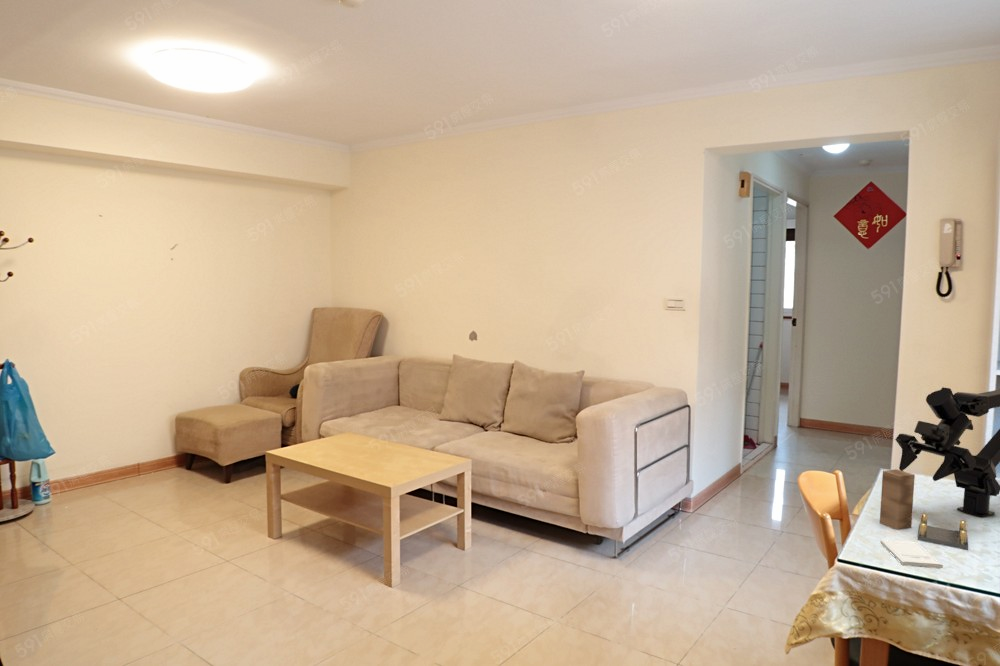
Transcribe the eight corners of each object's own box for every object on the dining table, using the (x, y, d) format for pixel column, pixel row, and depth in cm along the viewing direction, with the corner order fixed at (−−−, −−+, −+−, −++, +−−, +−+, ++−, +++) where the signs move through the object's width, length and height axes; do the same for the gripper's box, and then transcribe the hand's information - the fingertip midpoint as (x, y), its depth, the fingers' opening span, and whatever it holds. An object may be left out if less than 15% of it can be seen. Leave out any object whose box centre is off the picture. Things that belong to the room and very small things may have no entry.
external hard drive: (917, 548, 153) (942, 571, 141) (880, 545, 155) (902, 567, 143) (917, 541, 153) (943, 563, 141) (880, 539, 155) (902, 560, 143)
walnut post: (893, 520, 170) (896, 469, 169) (911, 527, 165) (914, 474, 164) (879, 523, 168) (882, 470, 167) (897, 529, 164) (900, 476, 163)
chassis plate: (919, 527, 165) (920, 512, 165) (966, 536, 160) (967, 521, 159) (917, 539, 157) (918, 523, 157) (967, 549, 152) (968, 533, 151)
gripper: (902, 404, 177) (870, 446, 174) (971, 417, 160) (937, 464, 157) (920, 430, 181) (889, 472, 178) (990, 446, 163) (957, 493, 160)
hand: (916, 474), depth 168 cm, fingers open, 9 cm apart
